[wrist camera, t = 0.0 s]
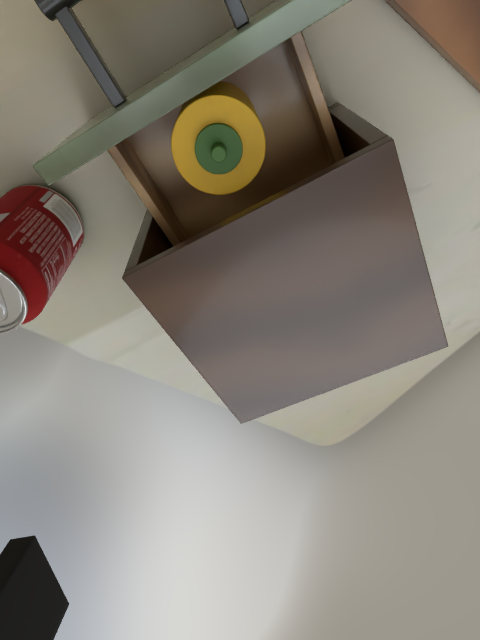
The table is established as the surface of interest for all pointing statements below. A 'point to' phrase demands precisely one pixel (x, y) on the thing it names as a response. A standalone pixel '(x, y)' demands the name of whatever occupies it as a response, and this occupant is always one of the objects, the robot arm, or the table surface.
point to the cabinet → (298, 282)
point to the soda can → (34, 250)
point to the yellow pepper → (218, 140)
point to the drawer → (185, 83)
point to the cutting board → (448, 30)
